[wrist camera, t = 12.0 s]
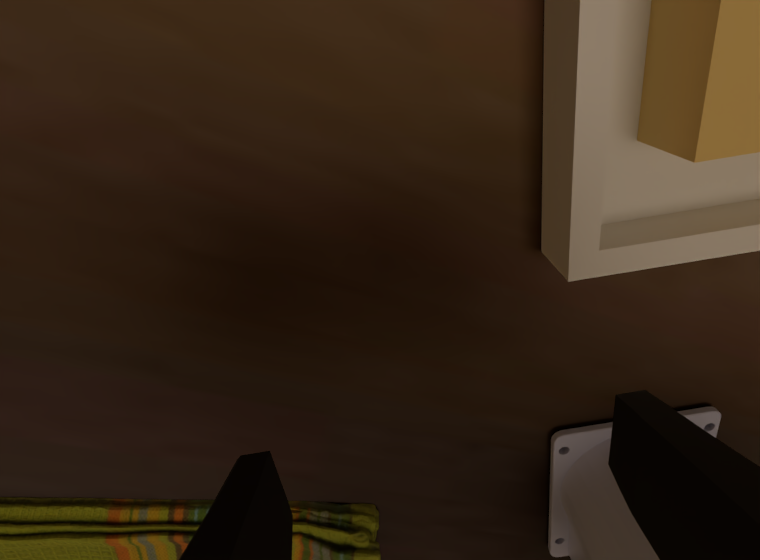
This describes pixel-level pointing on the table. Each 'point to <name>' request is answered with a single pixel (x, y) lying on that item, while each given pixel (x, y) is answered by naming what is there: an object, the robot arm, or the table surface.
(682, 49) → the tabbed collar
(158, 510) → the dish towel
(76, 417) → the table surface
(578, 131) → the tray
